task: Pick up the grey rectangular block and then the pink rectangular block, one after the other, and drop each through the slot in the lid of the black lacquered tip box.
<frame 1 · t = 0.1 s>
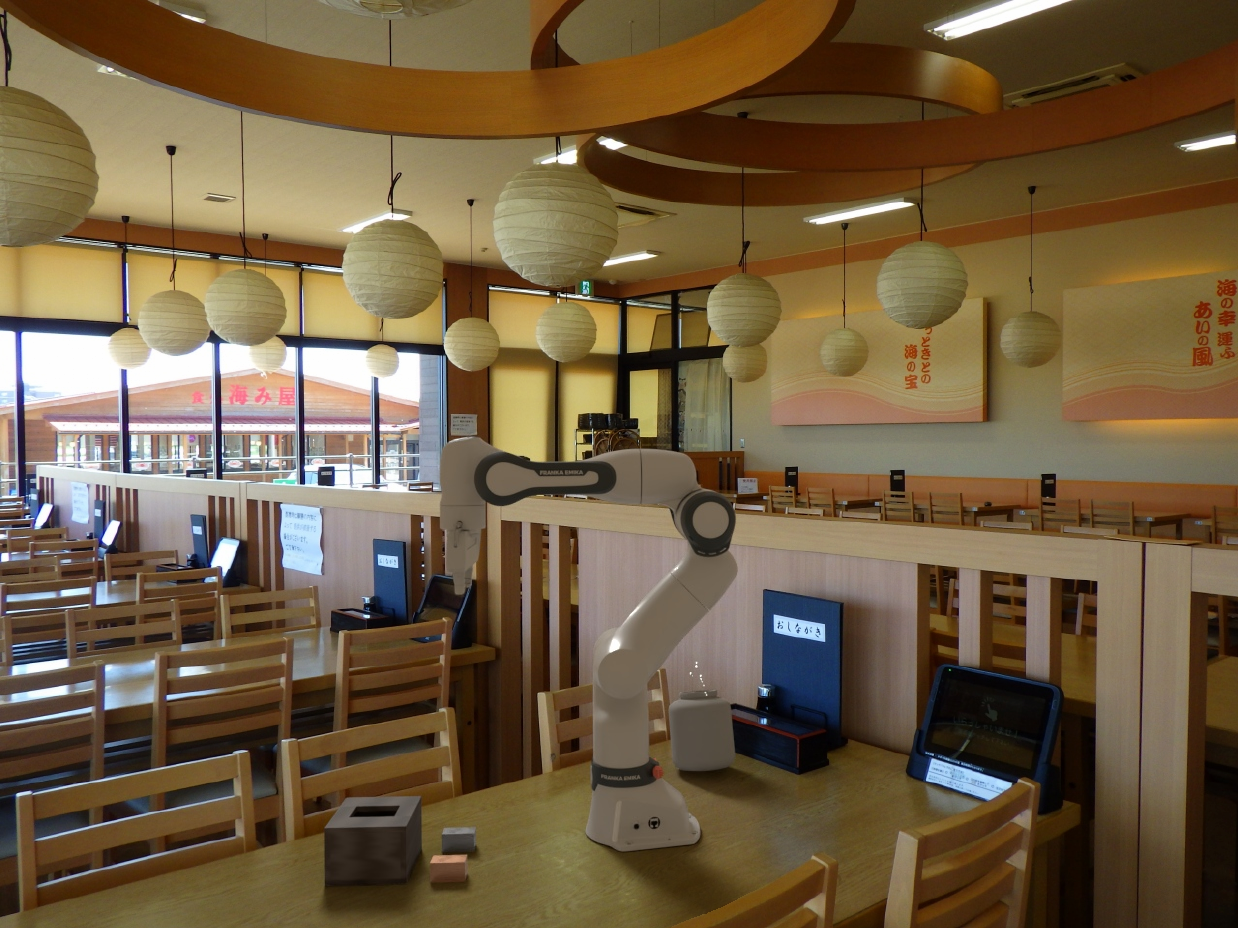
hand: (463, 590, 173), 48 cm above the table, tool pointing down, fingers open, 8 cm apart
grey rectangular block: (459, 848, 167), on the table
tip box: (375, 866, 159), on the table
jar: (700, 769, 210), on the table
pink rectangular block: (449, 878, 155), on the table
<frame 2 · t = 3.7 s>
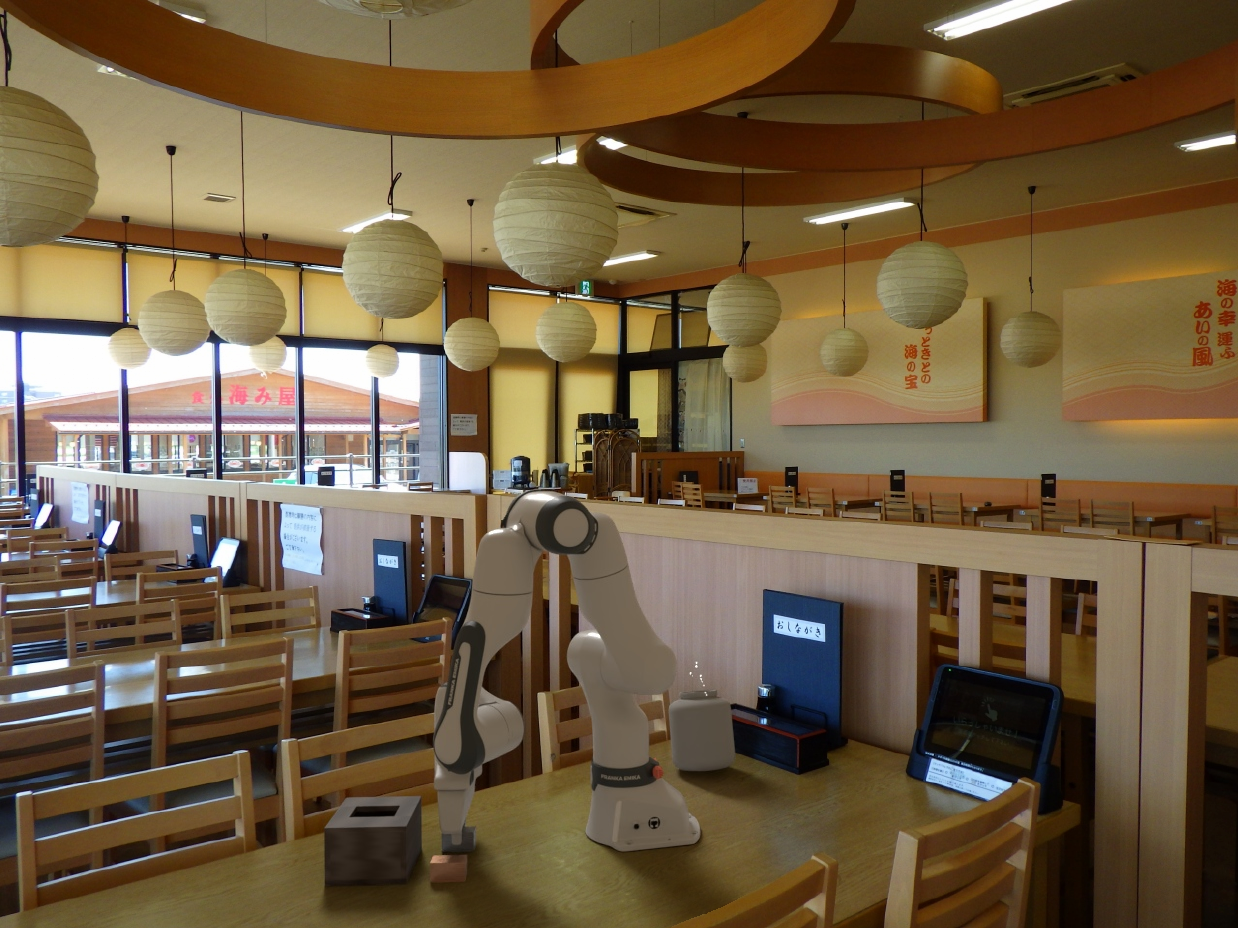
hand: (458, 837, 167), 2 cm above the table, tool pointing down, fingers closed on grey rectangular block, 3 cm apart
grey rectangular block: (458, 848, 167), on the table, touching gripper
everything else where it was.
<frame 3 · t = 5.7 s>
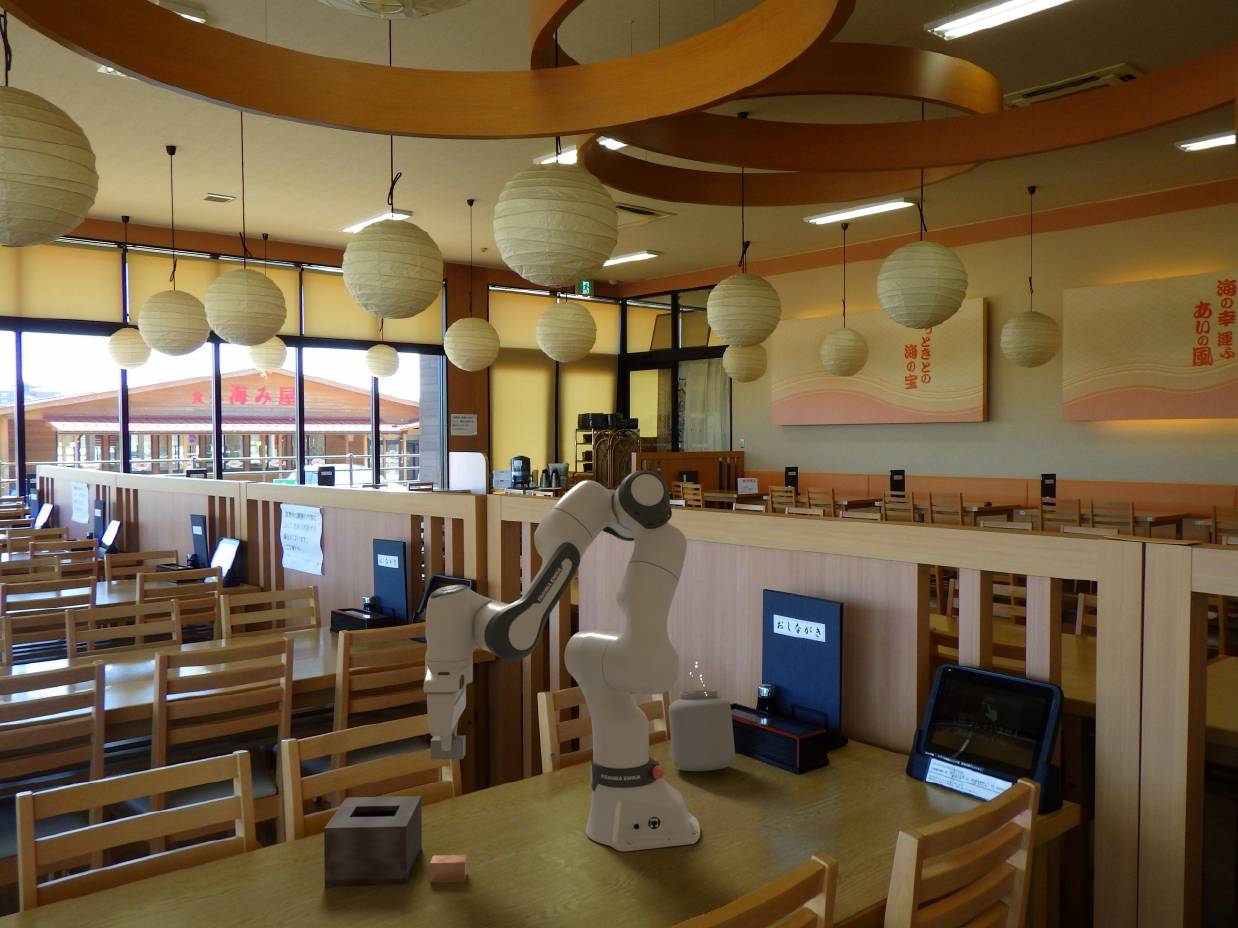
hand: (448, 746, 166), 19 cm above the table, tool pointing down, fingers closed on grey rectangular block, 3 cm apart
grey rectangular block: (448, 756, 166), point 18 cm above the table, touching gripper
everything else where it was.
when the fingers open (13 cm above the table, at t = 7.9 s): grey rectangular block drops 10 cm, resting on tip box.
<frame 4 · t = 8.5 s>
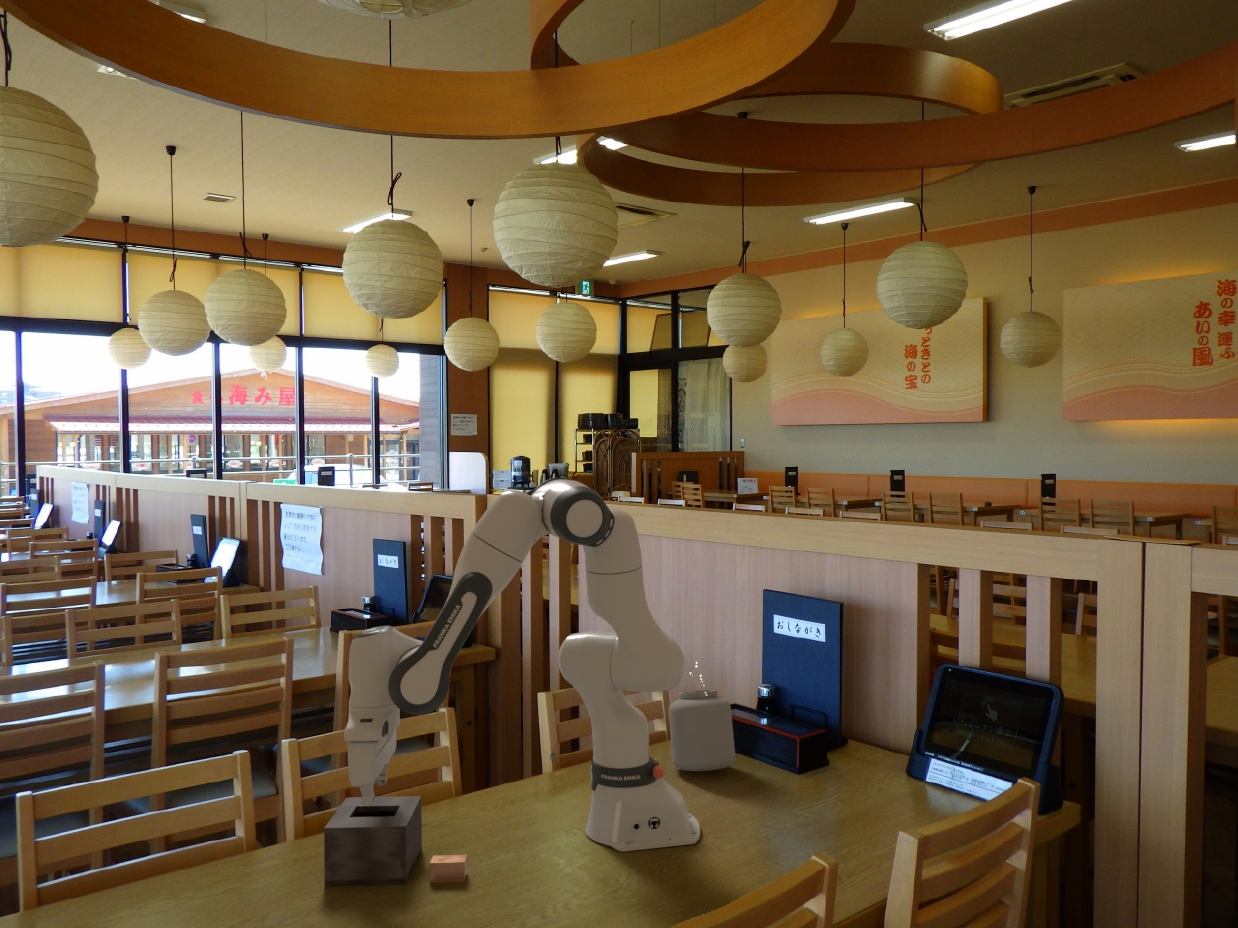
hand: (375, 793, 160), 13 cm above the table, tool pointing down, fingers open, 8 cm apart
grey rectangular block: (375, 860, 160), point 1 cm above the table, touching tip box
everything else where it was.
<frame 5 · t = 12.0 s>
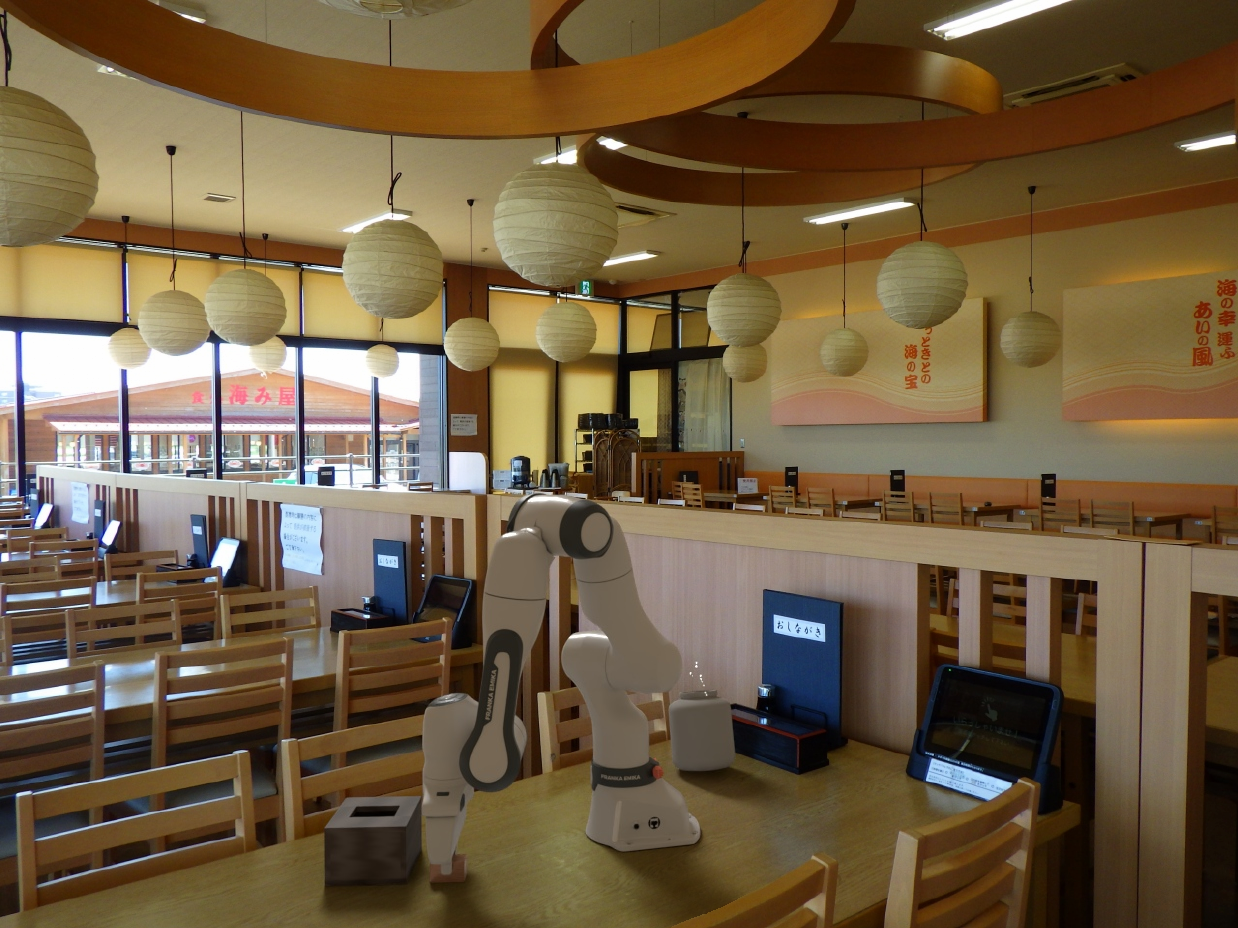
hand: (448, 866, 155), 2 cm above the table, tool pointing down, fingers closed on pink rectangular block, 3 cm apart
pink rectangular block: (448, 877, 155), on the table, touching gripper
everything else where it was.
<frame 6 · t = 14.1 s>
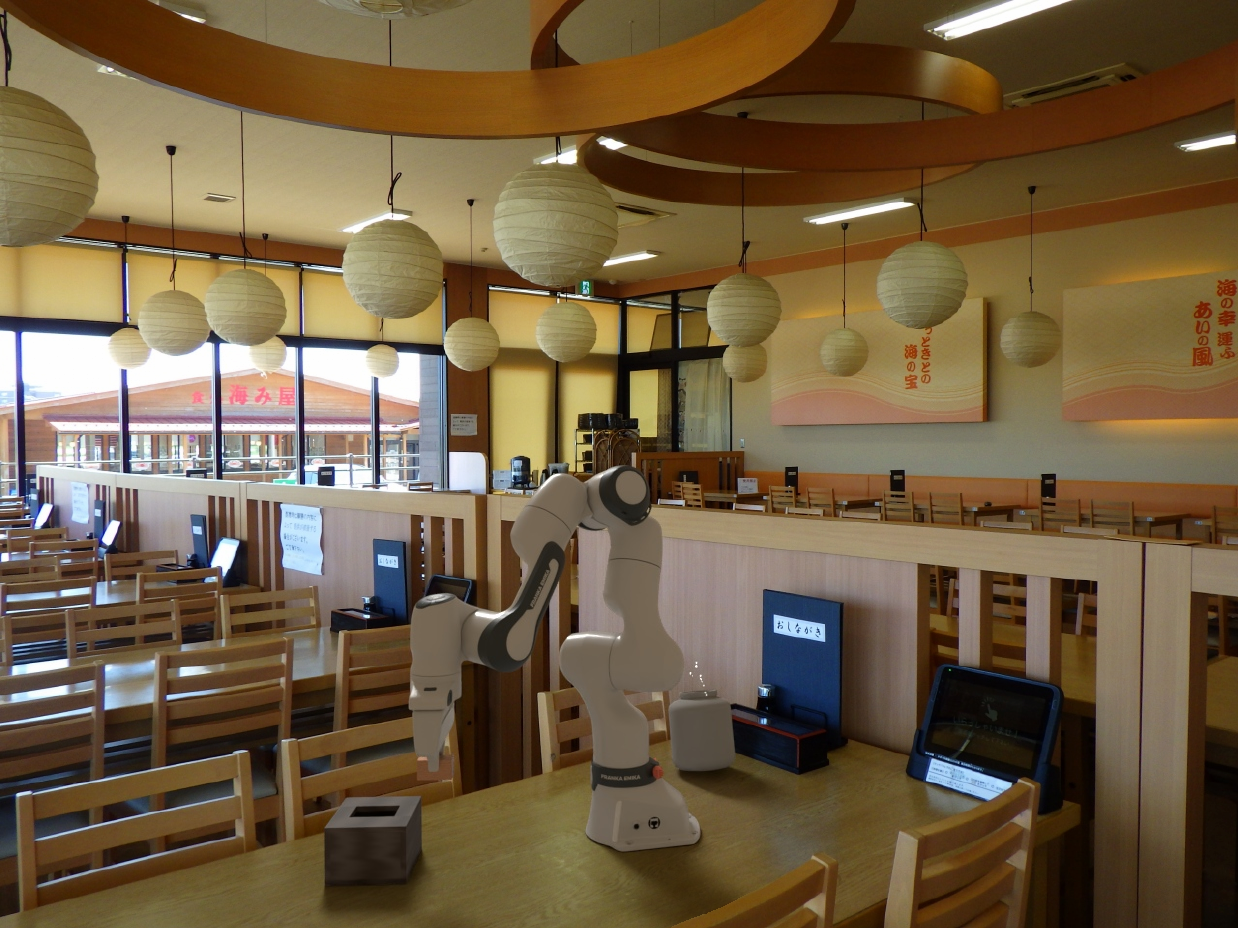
hand: (436, 766, 156), 19 cm above the table, tool pointing down, fingers closed on pink rectangular block, 3 cm apart
pink rectangular block: (435, 777, 156), point 17 cm above the table, touching gripper
everything else where it was.
when the fingers open (13 cm above the table, at t = 16.2 s): pink rectangular block drops 7 cm, resting on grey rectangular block.
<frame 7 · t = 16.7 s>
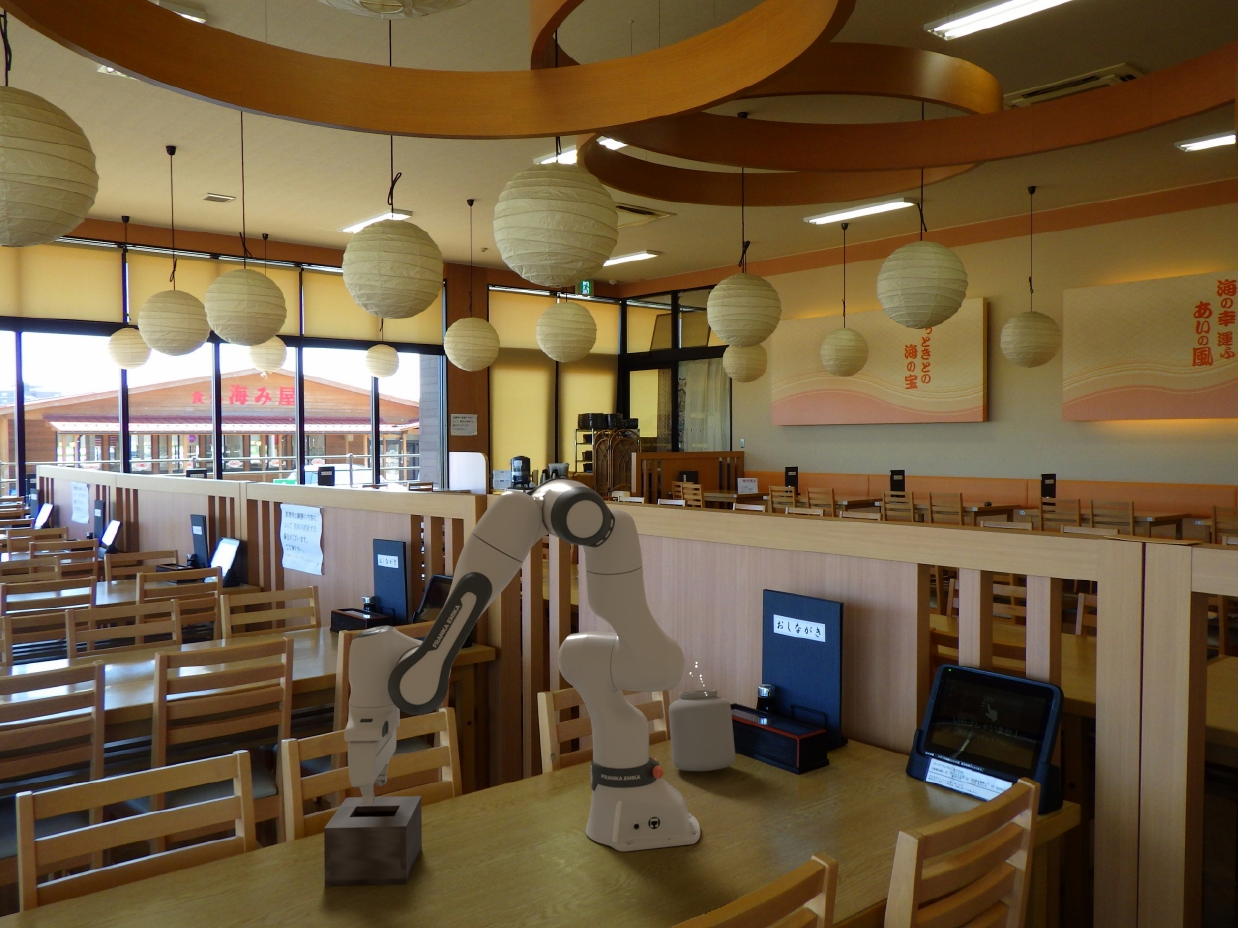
hand: (375, 793, 160), 13 cm above the table, tool pointing down, fingers open, 8 cm apart
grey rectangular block: (375, 860, 160), point 1 cm above the table, touching pink rectangular block, tip box
pink rectangular block: (374, 841, 159), point 5 cm above the table, touching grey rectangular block
everything else where it was.
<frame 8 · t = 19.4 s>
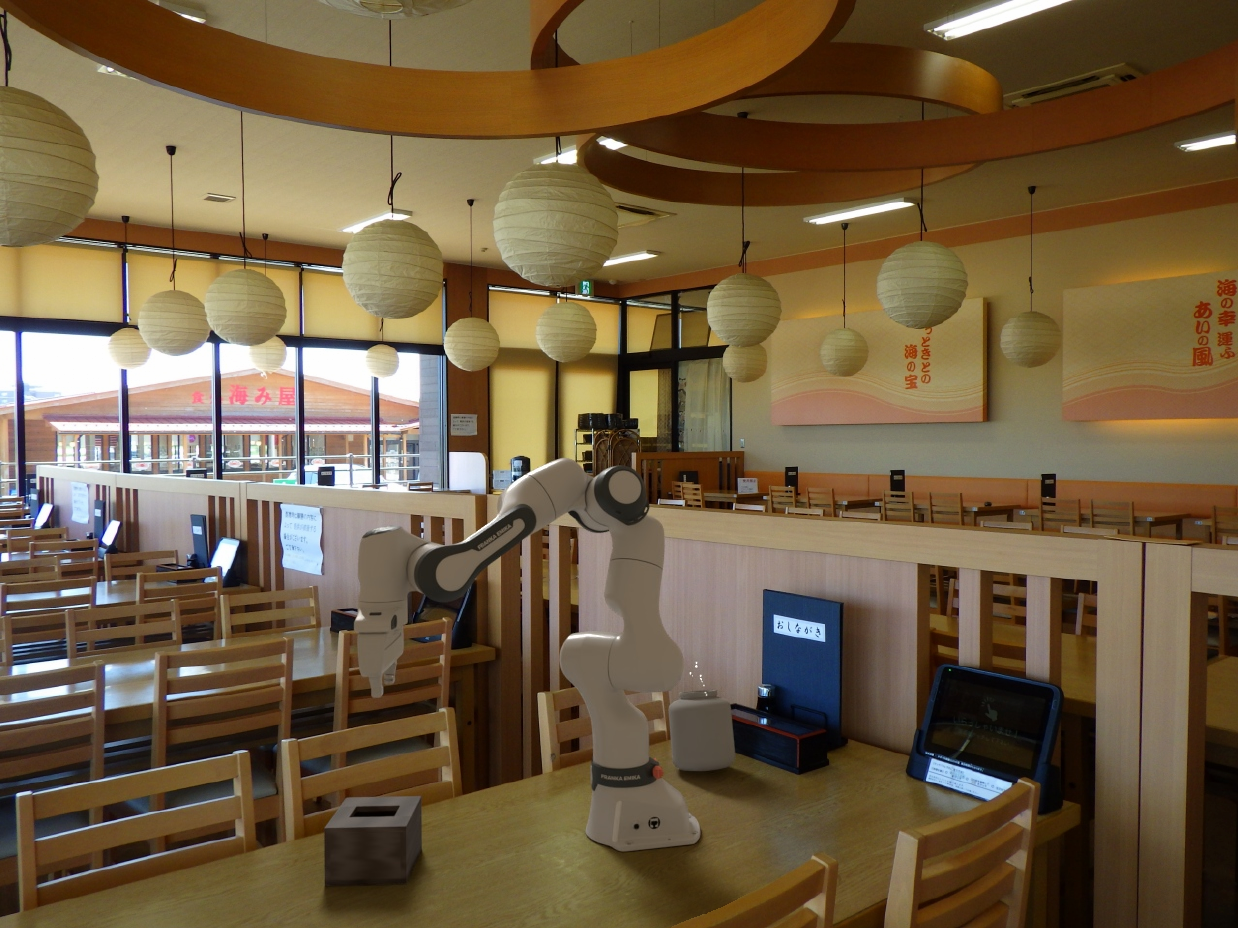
hand: (383, 689, 163), 31 cm above the table, tool pointing down, fingers open, 8 cm apart
nothing on the table moved.
at the end: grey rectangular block inside the target area on the tip box (0.2 cm from its centre), point 1.0 cm above the tip box's base; pink rectangular block inside the target area on the tip box (0.1 cm from its centre), point 4.5 cm above the tip box's base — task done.
